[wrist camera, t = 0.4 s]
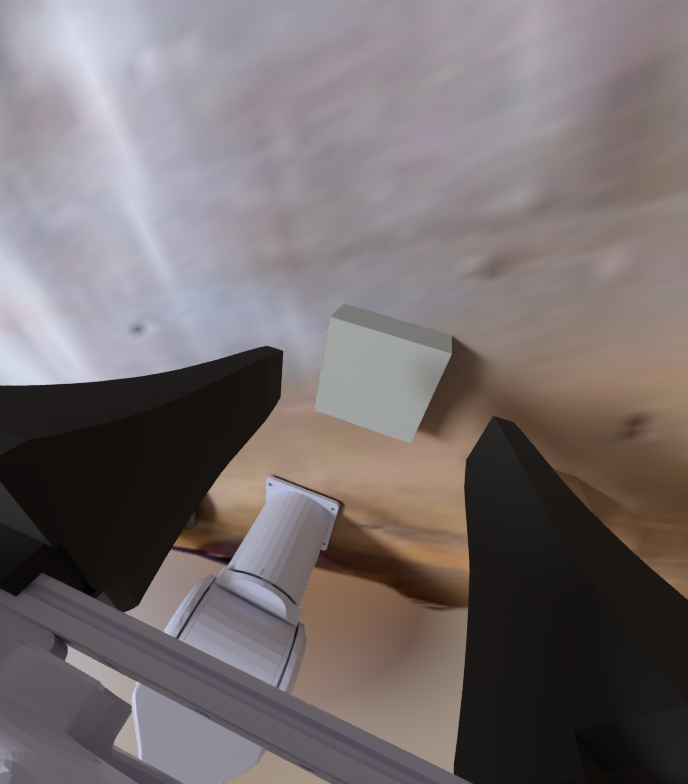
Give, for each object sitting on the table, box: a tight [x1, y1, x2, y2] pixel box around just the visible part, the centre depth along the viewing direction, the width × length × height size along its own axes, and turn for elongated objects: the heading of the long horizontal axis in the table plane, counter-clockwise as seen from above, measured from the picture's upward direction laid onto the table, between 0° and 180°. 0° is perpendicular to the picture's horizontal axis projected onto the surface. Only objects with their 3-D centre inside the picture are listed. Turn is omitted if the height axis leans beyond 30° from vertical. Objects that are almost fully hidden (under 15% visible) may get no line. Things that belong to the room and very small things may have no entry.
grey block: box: [315, 304, 452, 444], centre depth 20 cm, size 7×7×3 cm
